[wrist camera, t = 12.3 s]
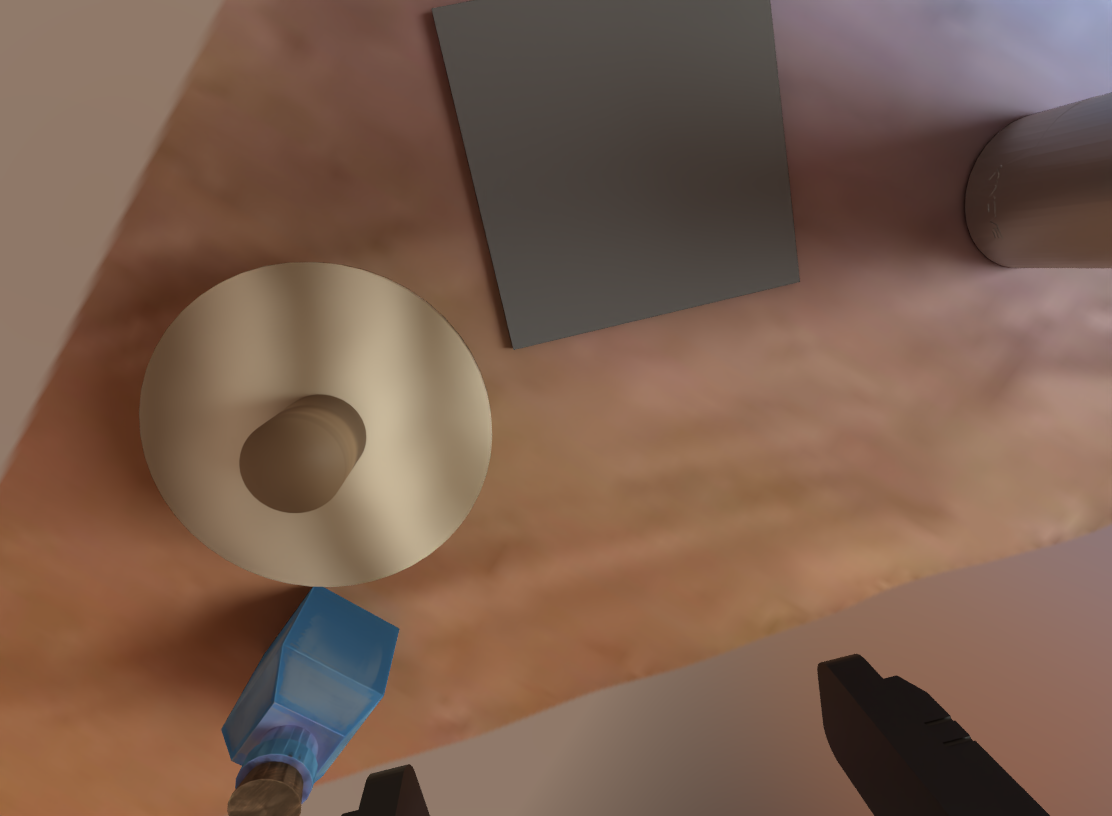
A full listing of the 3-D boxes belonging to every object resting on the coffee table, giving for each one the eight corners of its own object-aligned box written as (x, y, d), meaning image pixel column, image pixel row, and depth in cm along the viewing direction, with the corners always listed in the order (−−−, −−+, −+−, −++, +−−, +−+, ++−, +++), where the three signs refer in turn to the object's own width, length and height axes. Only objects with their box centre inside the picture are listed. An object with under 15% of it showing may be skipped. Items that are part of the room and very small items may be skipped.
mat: (758, -50, 31) (764, -56, 30) (794, 281, 36) (799, 281, 35) (432, 13, 30) (431, 8, 29) (513, 348, 34) (513, 349, 34)
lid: (444, 227, 27) (434, 217, 21) (523, 532, 31) (532, 586, 25) (93, 307, 26) (-9, 316, 20) (224, 611, 30) (168, 685, 24)
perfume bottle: (347, 697, 39) (289, 881, 27) (263, 655, 37) (163, 830, 25) (399, 628, 38) (362, 786, 26) (315, 582, 36) (237, 728, 25)
